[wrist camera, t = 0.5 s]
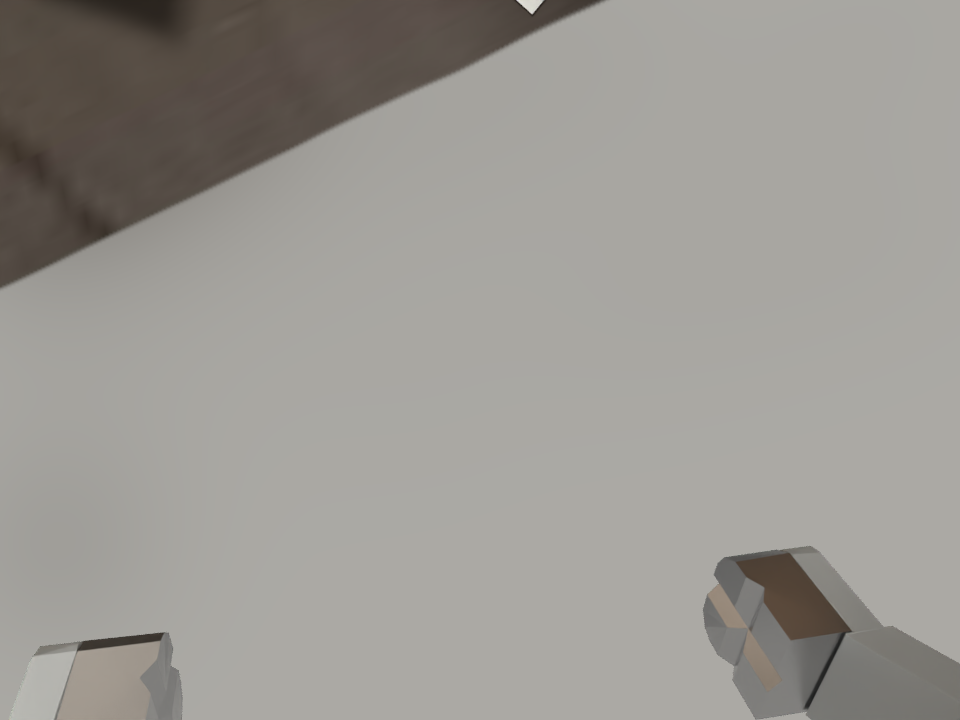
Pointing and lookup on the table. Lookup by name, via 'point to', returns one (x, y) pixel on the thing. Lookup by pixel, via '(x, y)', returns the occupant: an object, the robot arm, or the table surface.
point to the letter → (530, 4)
